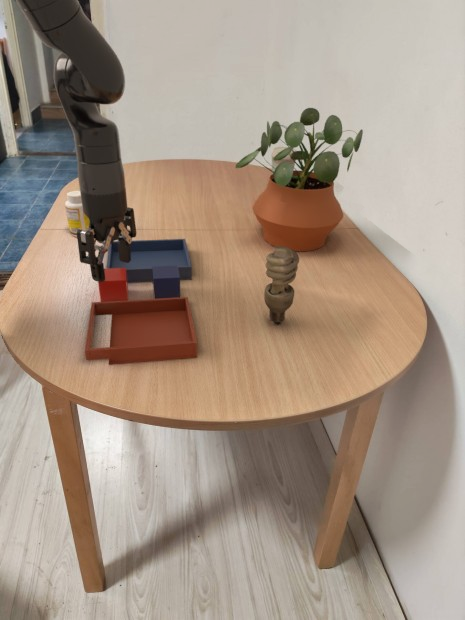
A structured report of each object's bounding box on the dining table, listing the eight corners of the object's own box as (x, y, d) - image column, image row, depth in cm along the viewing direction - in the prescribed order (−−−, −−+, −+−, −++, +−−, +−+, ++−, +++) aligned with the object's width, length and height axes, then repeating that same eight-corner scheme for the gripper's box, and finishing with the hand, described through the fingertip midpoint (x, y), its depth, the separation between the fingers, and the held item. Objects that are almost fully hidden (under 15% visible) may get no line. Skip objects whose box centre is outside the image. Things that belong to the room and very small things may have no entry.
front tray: (87, 366, 71) (84, 351, 69) (93, 316, 82) (91, 302, 81) (197, 357, 74) (197, 342, 72) (188, 310, 85) (187, 296, 84)
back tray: (107, 283, 92) (106, 270, 91) (110, 253, 104) (109, 241, 102) (191, 279, 95) (191, 266, 94) (185, 250, 107) (185, 238, 105)
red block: (101, 304, 86) (97, 281, 83) (102, 291, 90) (99, 268, 87) (128, 302, 87) (125, 280, 84) (128, 289, 91) (126, 267, 88)
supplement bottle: (90, 227, 116) (85, 188, 110) (95, 236, 112) (90, 195, 106) (68, 230, 114) (61, 190, 108) (71, 239, 109) (65, 198, 104)
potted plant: (355, 255, 109) (383, 122, 93) (242, 264, 102) (251, 123, 86) (317, 219, 127) (335, 104, 111) (219, 225, 121) (223, 103, 104)
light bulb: (282, 335, 80) (292, 258, 72) (254, 325, 82) (261, 250, 74) (295, 320, 84) (305, 246, 76) (268, 311, 86) (276, 238, 78)
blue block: (154, 301, 88) (153, 278, 85) (153, 288, 92) (152, 266, 89) (180, 299, 88) (179, 277, 86) (178, 287, 93) (177, 265, 90)
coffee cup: (264, 188, 149) (267, 150, 143) (272, 181, 156) (276, 145, 149) (289, 192, 147) (293, 154, 140) (296, 185, 153) (301, 148, 147)
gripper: (96, 202, 70) (107, 292, 79) (143, 177, 81) (149, 259, 90) (56, 194, 72) (72, 283, 81) (108, 172, 83) (117, 252, 92)
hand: (113, 270), depth 85 cm, fingers open, 8 cm apart
